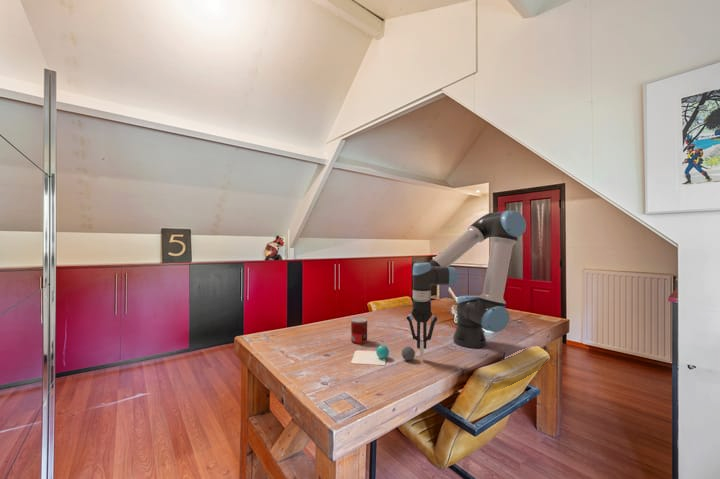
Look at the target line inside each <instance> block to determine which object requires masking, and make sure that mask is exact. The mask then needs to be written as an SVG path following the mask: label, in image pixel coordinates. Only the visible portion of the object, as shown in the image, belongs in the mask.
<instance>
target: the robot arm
mask: <svg viewBox="0 0 720 479" xmlns="http://www.w3.org/2000/svg"><path fill="white" fill-rule="evenodd" d="M526 229H527V221H526V219H525V218H524V215H523V214H522V213H520V212H519V211H516V210H503V211H496V212H495V211H494V212H490V213H487V214H484V215H482V216H481V217H480V218H478V219H477V220H476V221H474V222H472V224H471V225H469V226H468V227H467V230H466V231H465V232H464V233H463V234H462V235H460V236H459V237H458V238H456V239H455V240H454V241H453V242H452V243H450V244H449V245H448V246H447V247H445V249H443V250H442V251H441V252H439V253H438V254H437V255H436V256H435V257H434V258H432V259H431V260H429V261H428V262H415V263H413V265H412V299H413V300H412V310H411V313H410V314H407V315H406V320H407V321H408V325H409V328H410V332H411V336H412V340H415V341H416V348H417V349H418V350H419V358H424V356H425V354H424V352H425V351H424V350H426V349H427V342H428V341H431V340H432V336H433V332H434V329H435V323H436V322H437V321H438V316H437V315H436V316H435V315H434V314H433V313H432V286H446V285H447V286H450V285H454V284H457V282H458V277H459V274H458V270H457V269H456V268H455V267H453V266H451V265H452V264H454V263H455V262H457V261H458V260H459V259H460V258H461V257H462V256H464V255H465V254H466V253H467V252H468V251H470V250H471V249H472V248H473V247H474V246H476V245H477V244H478V243H482V242H484V241H485V240H486V239H489V240H490V242H491V246H490V252H489V258H488V262H487V268H486V271H485V272H486V273H485V279H484V284H483V288H482V293H481V294H480V295H460V296H458V297H457V300H456V322H457V323H456V328H455V330H454V334H453V338H452V339H453V340H452V341H453V343H454V344H456V345H459V346H461V347H465V348H470V349H473V348H474V349H477V348H478V349H480V348H483V347H484V348H485V347H486V345H487V338H486V335H485V333H484V330H486V331H489V332H491V333H498V332H502V331H503V330H504V329H505V328H506V327H507V326H508V325H509V322H510V313H509V311H508V309H507V308H506V305H507V302H506V300H505V299H504V294H505V289H506V285H507V284H506V283H507V278H508V272H509V268H510V267H509V266H510V262H511V261H510V260H511V257H512V251H513V246H514V245H516V244H517V243H518V241H519V240H518V239H519V238H520V237H521V236H523V234H525V232H526ZM413 319H414V320H415V322H416V333H415V328H414V324H413V321H412V320H413ZM430 319H431V320H430ZM429 320H430V325H429V329H428V331H427V328H428V327H427V323H428V321H429ZM421 323H422V339H421ZM427 332H428V333H427Z"/></svg>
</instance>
